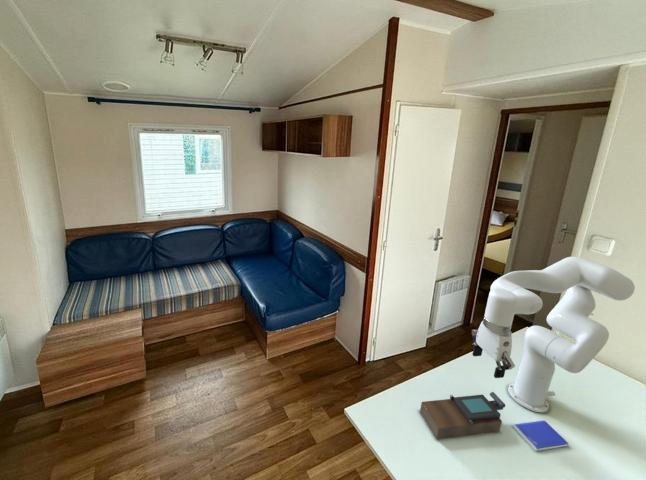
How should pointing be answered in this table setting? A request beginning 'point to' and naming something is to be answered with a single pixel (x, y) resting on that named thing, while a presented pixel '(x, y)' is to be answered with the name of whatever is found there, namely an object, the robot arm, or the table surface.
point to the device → (479, 406)
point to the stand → (454, 420)
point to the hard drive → (540, 435)
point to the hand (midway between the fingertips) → (487, 365)
